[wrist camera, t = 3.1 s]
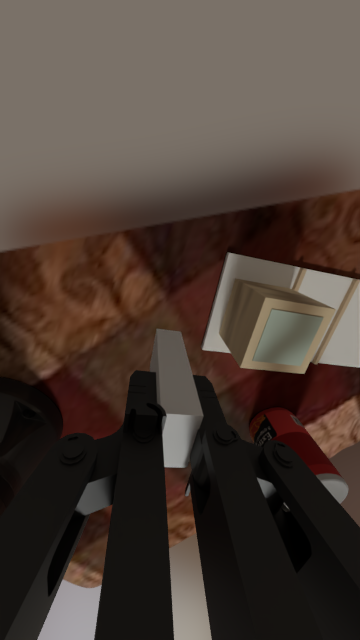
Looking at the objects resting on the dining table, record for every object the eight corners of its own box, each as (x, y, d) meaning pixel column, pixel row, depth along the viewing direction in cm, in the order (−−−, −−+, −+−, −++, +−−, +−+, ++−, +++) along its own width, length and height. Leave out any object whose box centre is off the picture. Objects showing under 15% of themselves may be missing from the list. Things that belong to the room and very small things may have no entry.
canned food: (251, 407, 34) (294, 483, 24) (299, 403, 35) (359, 475, 25) (243, 442, 37) (279, 522, 27) (288, 438, 38) (337, 514, 28)
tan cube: (218, 333, 27) (240, 368, 21) (235, 278, 25) (266, 297, 18) (269, 340, 29) (304, 374, 22) (289, 288, 26) (336, 309, 20)
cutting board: (201, 347, 28) (203, 351, 27) (227, 252, 24) (230, 253, 23) (385, 368, 34) (392, 372, 33) (433, 295, 30) (442, 297, 29)
